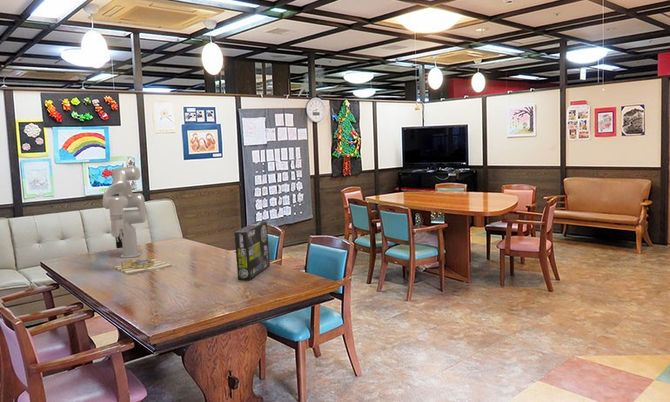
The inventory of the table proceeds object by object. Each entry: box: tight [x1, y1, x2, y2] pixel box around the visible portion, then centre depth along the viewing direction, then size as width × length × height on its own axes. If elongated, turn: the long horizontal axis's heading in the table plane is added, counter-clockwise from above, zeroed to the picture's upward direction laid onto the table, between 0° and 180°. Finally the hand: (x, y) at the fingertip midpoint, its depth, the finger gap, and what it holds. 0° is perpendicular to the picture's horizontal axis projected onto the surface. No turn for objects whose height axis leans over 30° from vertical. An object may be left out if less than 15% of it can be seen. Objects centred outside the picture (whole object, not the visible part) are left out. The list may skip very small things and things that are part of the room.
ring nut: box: [120, 258, 155, 269], centre depth 321 cm, size 14×19×5 cm
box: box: [233, 221, 271, 281], centre depth 296 cm, size 34×7×27 cm, turn 168°
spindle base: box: [112, 258, 173, 276], centre depth 323 cm, size 26×26×4 cm
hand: (119, 247), depth 319 cm, fingers closed
